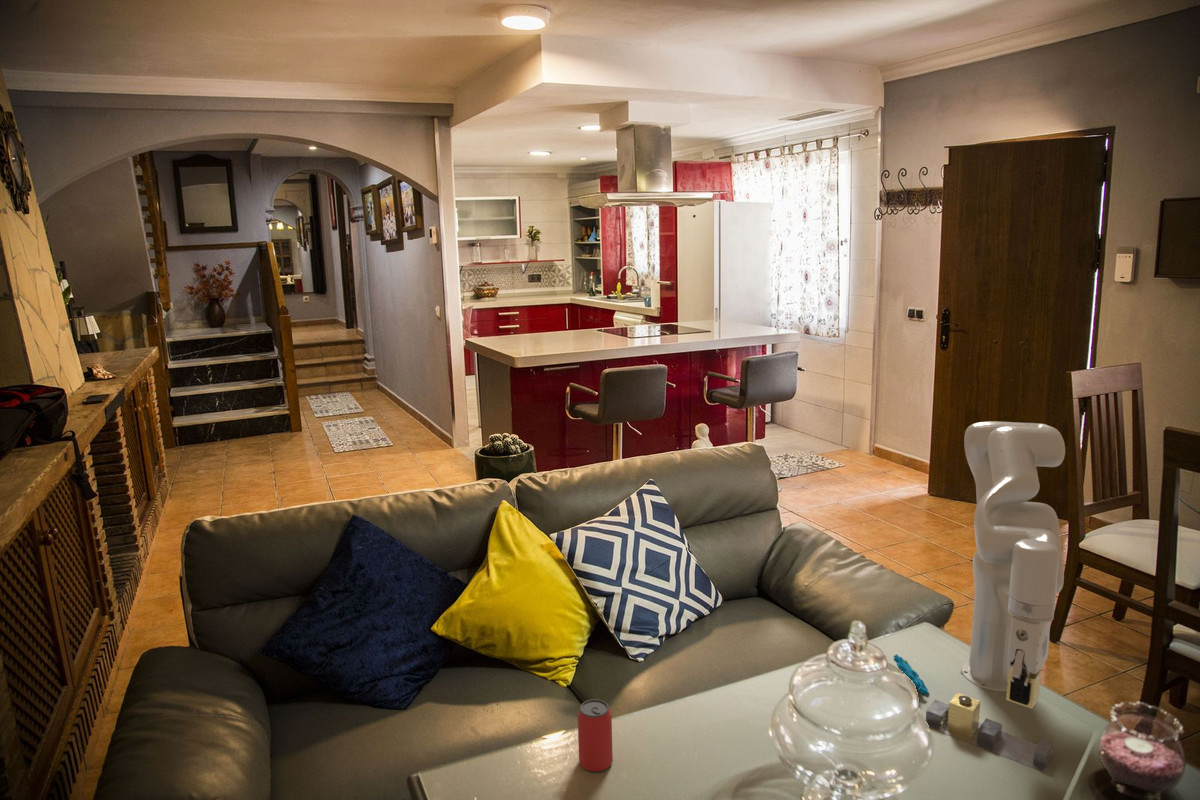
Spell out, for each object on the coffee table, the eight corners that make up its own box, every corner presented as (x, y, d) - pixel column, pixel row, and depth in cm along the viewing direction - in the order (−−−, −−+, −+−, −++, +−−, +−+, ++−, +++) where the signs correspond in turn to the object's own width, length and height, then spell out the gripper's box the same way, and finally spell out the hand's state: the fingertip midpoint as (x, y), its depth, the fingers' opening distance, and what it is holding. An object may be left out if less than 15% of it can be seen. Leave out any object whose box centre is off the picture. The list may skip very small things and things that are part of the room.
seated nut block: (955, 718, 161) (957, 689, 160) (978, 727, 158) (980, 698, 157) (947, 729, 158) (949, 699, 157) (970, 738, 155) (973, 708, 154)
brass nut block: (1038, 698, 149) (1041, 666, 148) (1032, 708, 146) (1035, 676, 144) (1012, 690, 152) (1015, 658, 151) (1006, 699, 148) (1008, 668, 147)
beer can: (588, 778, 148) (586, 721, 145) (573, 758, 154) (571, 703, 151) (618, 766, 151) (617, 711, 148) (603, 747, 157) (601, 693, 154)
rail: (936, 711, 166) (937, 696, 165) (1053, 755, 151) (1055, 739, 150) (922, 729, 160) (923, 713, 159) (1042, 776, 145) (1044, 760, 144)
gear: (935, 698, 167) (901, 663, 168) (914, 715, 168) (880, 680, 169) (926, 677, 178) (894, 644, 179) (906, 693, 179) (874, 660, 180)
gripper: (1041, 629, 137) (1032, 723, 140) (1064, 597, 149) (1056, 684, 152) (995, 616, 141) (987, 707, 145) (1021, 586, 154) (1014, 671, 157)
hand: (1022, 695), depth 148 cm, fingers closed on brass nut block, 4 cm apart
